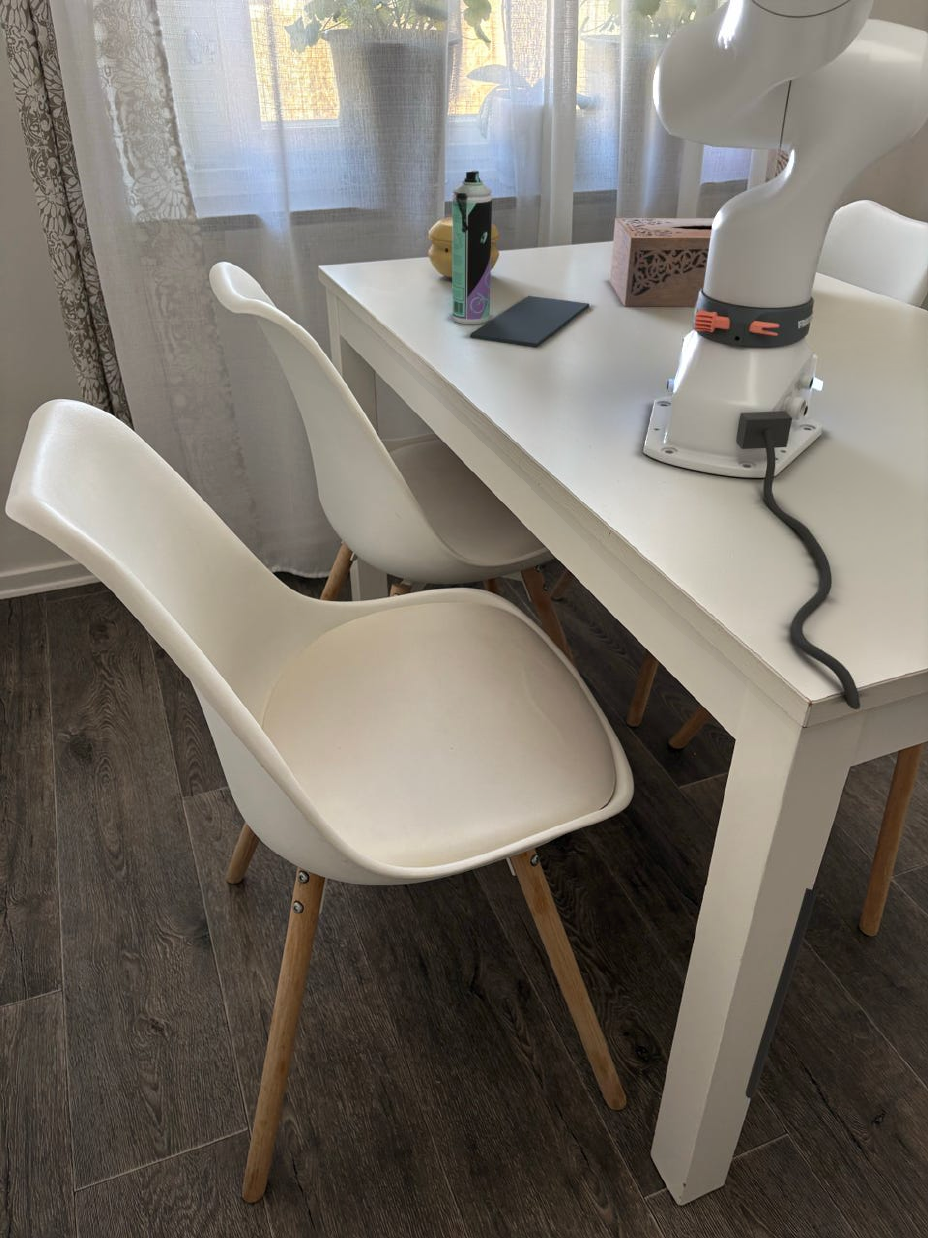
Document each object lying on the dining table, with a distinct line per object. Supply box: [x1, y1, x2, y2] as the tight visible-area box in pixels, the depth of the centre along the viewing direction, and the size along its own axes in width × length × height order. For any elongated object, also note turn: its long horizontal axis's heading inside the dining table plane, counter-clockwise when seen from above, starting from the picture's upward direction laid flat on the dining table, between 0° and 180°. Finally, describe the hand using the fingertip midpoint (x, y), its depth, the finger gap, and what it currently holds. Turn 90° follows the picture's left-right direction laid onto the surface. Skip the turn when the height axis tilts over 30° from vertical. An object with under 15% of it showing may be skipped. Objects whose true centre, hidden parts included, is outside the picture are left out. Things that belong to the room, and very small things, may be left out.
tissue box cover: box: [609, 217, 715, 307], centre depth 153 cm, size 26×14×10 cm, turn 92°
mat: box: [469, 295, 590, 348], centre depth 142 cm, size 22×10×1 cm, turn 155°
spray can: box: [451, 170, 493, 325], centre depth 138 cm, size 6×6×20 cm
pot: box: [428, 216, 500, 279], centre depth 161 cm, size 12×12×10 cm
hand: (787, 4), depth 112 cm, fingers open, 8 cm apart
